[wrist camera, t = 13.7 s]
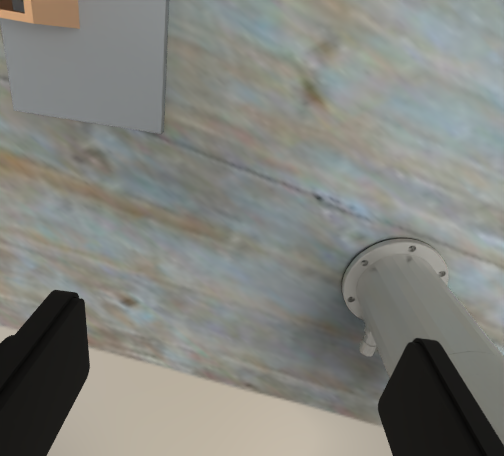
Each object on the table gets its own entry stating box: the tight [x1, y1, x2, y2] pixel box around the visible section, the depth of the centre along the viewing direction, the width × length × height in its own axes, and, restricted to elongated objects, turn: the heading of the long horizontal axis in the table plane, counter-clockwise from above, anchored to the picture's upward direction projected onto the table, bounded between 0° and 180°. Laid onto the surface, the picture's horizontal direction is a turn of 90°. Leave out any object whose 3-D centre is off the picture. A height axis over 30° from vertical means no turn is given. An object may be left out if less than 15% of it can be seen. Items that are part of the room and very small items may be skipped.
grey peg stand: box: [0, 0, 169, 134], centre depth 26 cm, size 16×14×11 cm
